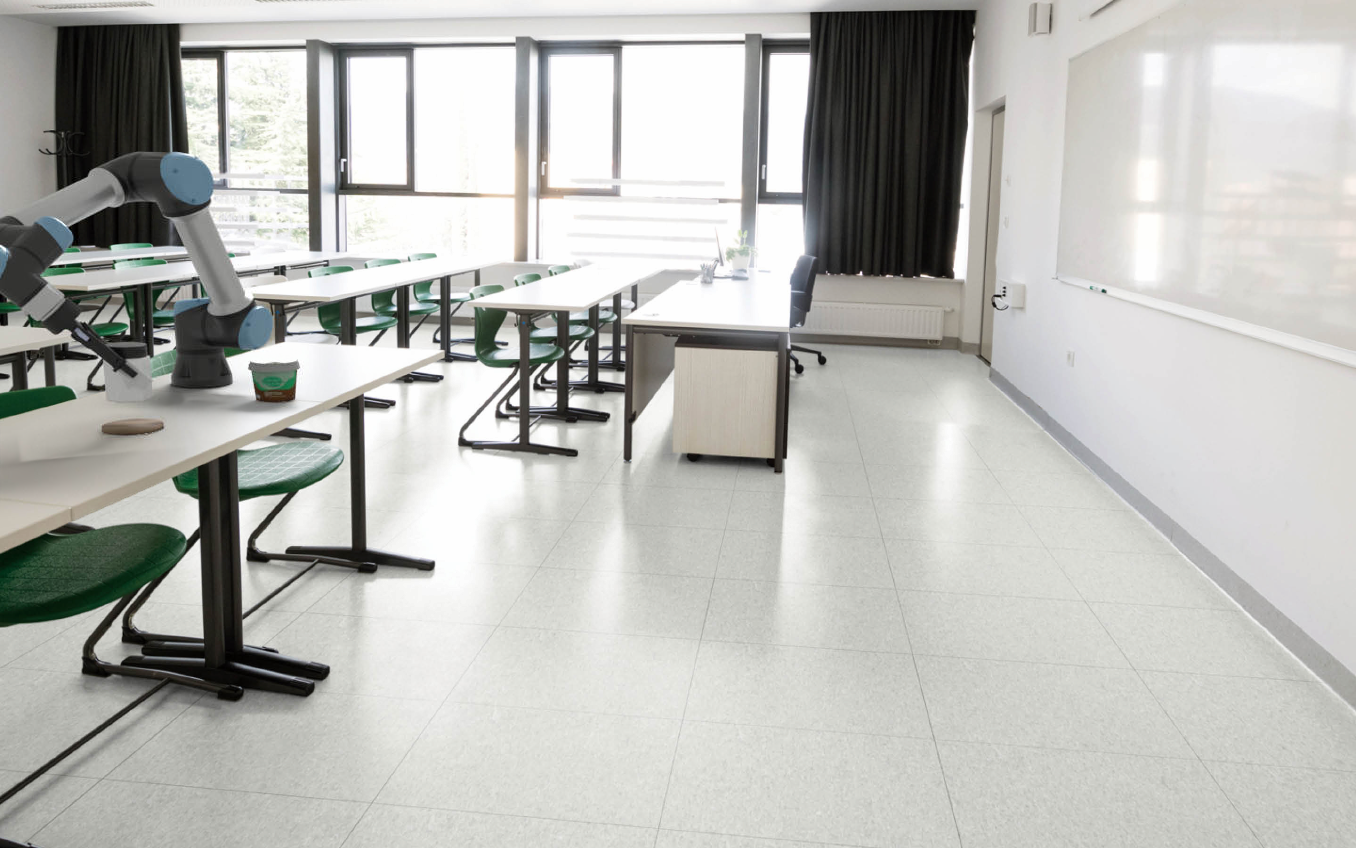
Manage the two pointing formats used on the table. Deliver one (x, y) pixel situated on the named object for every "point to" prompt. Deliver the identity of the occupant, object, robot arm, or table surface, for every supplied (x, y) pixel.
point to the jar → (119, 384)
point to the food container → (274, 381)
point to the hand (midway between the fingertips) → (146, 382)
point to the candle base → (132, 426)
